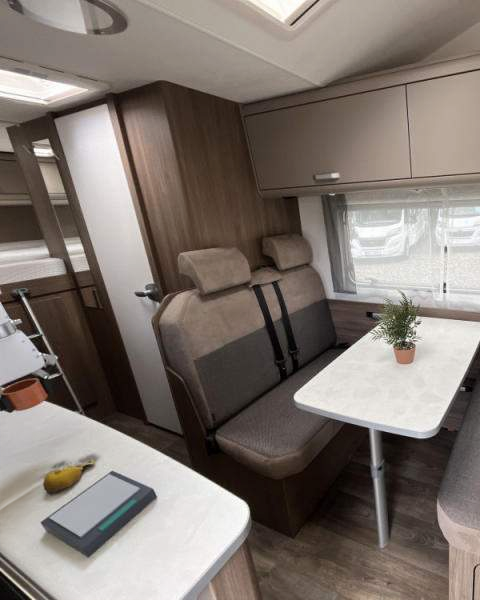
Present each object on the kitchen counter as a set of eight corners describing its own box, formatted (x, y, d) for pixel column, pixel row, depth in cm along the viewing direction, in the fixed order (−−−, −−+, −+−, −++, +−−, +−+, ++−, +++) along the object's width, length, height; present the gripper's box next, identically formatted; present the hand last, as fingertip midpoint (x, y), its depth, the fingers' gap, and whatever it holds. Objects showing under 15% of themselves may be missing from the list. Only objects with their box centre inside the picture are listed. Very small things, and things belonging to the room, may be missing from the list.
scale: (46, 530, 60) (38, 520, 59) (116, 478, 71) (111, 469, 70) (88, 557, 56) (81, 547, 55) (157, 497, 66) (152, 487, 65)
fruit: (99, 458, 76) (93, 447, 75) (81, 487, 69) (74, 475, 68) (55, 470, 74) (48, 459, 72) (32, 502, 66) (24, 489, 65)
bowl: (5, 409, 72) (-6, 391, 70) (40, 393, 78) (30, 376, 76) (19, 414, 70) (8, 396, 68) (54, 397, 76) (44, 380, 74)
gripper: (32, 315, 76) (65, 377, 82) (-88, 351, 61) (-35, 424, 67) (50, 318, 73) (83, 382, 80) (-70, 357, 58) (-18, 431, 65)
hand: (28, 400), depth 74 cm, fingers closed on bowl, 6 cm apart
